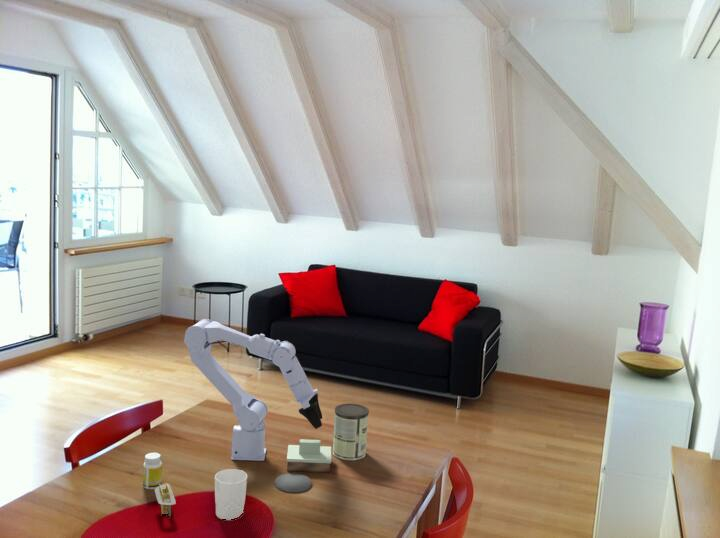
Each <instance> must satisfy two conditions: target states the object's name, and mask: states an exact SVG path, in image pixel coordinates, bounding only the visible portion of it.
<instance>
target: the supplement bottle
mask: <svg viewBox="0 0 720 538" xmlns="http://www.w3.org/2000/svg"><path fill="white" fill-rule="evenodd" d="M161 456H162V455H161V454H160V453H158V452H149V453H147V454H145V455H144V463H143V465H142V487H143V488H145V489H146V490H155V488H157V487H159V484H160V485H163V481H162V480H163V463H162V460H161V458H162V457H161Z"/></svg>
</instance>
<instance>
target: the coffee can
mask: <svg viewBox="0 0 720 538" xmlns="http://www.w3.org/2000/svg"><path fill="white" fill-rule="evenodd" d="M369 413H370V410H369V408H368V407H366V406H365V405H362V404H357V403H342V404H339V405H336V406H335V408H334V420H333V423H334V424H333V442H332V444H333V445H332V446H333V447H332V451H331V454H332V455H333V456H334V457H335V458H337V459H340V460H342V461H358V460H362V459H364V458H365V457H366V455H367V454H366V453H367V452H366V451H367V437H368V422H369Z"/></svg>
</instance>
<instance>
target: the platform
mask: <svg viewBox="0 0 720 538" xmlns="http://www.w3.org/2000/svg"><path fill="white" fill-rule="evenodd" d="M154 493H155V497H156V501H157V503H158V504H159V505H160V508H161V509H160V510H161V515H162V514H168V513H169V514H168V516H170V517H171V515H172V511H171V510H172V506H173V505H176V504H177V503H176V501H177V500H176V498H175V496H174V492H173V489H172V487H171V484H170V483H167V482H165V483H162V485H160V484H159V487H157V488H155V489H154ZM167 509H168V510H167ZM170 517H169V518H170Z"/></svg>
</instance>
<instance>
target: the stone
mask: <svg viewBox="0 0 720 538" xmlns="http://www.w3.org/2000/svg"><path fill="white" fill-rule="evenodd" d="M274 486H275V487H276V488H277V489H278V490H280V491H282V492H285V493H286V492H287V493H292V494H293V493H302V492H305V491H308V490H309V489H310V488H311V487H312V479H311V478H310V477H309V476H307V475H305V474H301V473H293V472H291V473H285V474H284V473H283V474H281V475H279V476H277V477H276V478H275V480H274Z"/></svg>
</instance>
